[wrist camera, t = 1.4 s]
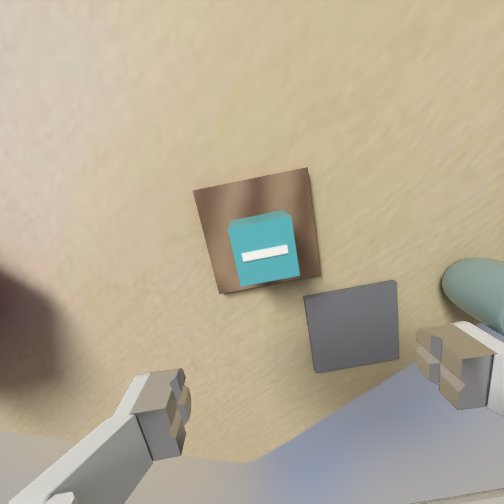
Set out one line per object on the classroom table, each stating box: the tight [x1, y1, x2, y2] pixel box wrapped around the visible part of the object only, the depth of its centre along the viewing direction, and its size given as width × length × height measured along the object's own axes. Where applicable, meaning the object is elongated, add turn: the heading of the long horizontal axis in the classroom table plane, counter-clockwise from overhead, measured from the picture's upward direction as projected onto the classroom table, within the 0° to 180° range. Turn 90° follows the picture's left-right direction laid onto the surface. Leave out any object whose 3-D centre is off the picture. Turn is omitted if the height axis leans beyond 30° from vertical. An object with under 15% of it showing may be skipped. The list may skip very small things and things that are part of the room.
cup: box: [442, 257, 504, 336], centre depth 30 cm, size 8×8×10 cm
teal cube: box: [228, 210, 300, 287], centre depth 26 cm, size 6×6×5 cm
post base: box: [193, 168, 321, 294], centre depth 28 cm, size 14×14×8 cm
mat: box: [303, 280, 399, 373], centre depth 36 cm, size 13×13×1 cm
